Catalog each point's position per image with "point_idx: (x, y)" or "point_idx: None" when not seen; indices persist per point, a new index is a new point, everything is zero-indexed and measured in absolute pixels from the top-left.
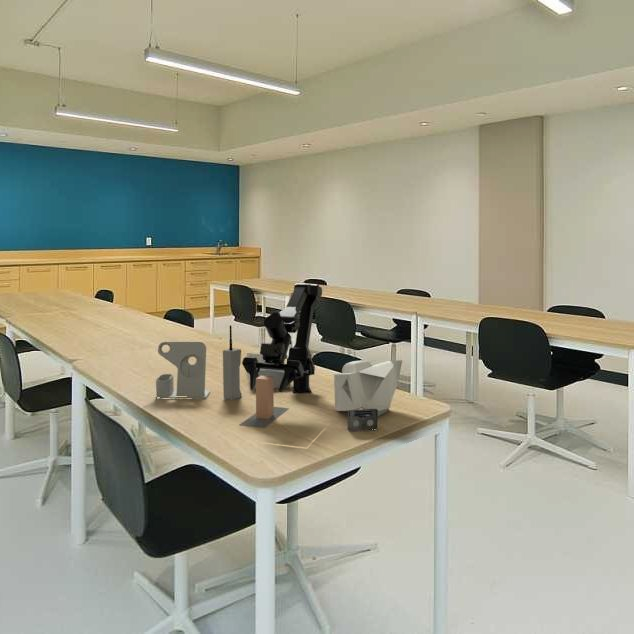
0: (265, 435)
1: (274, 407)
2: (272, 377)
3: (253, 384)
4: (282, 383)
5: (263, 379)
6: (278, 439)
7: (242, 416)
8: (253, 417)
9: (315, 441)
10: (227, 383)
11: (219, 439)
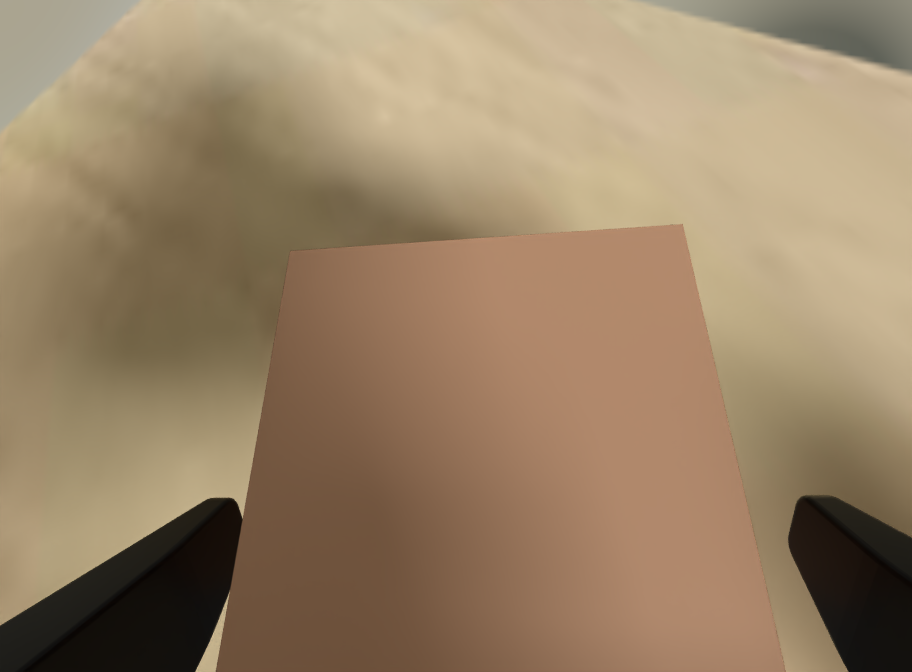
0: (363, 184)
1: None
2: (239, 597)
3: (874, 620)
4: (67, 595)
5: (434, 248)
6: (278, 163)
7: None
8: None
9: (88, 206)
10: None
11: (575, 60)
